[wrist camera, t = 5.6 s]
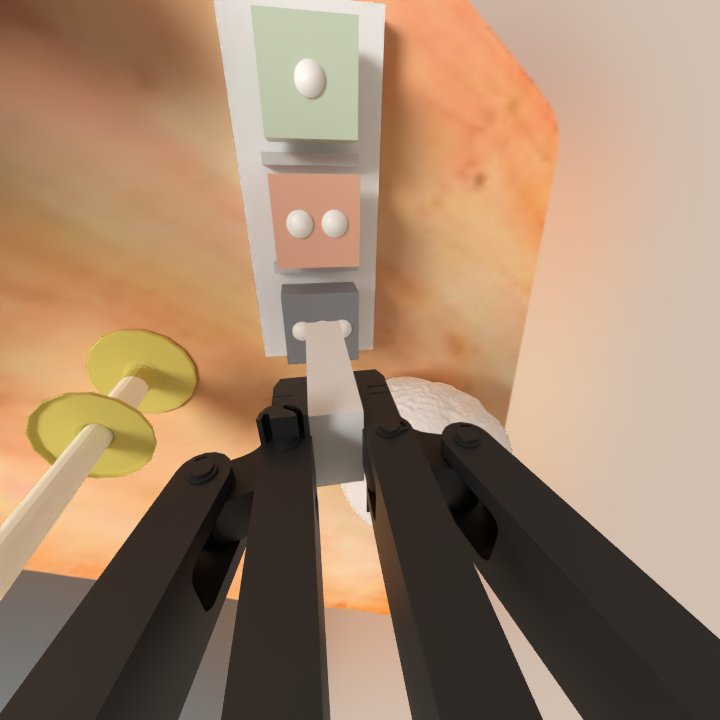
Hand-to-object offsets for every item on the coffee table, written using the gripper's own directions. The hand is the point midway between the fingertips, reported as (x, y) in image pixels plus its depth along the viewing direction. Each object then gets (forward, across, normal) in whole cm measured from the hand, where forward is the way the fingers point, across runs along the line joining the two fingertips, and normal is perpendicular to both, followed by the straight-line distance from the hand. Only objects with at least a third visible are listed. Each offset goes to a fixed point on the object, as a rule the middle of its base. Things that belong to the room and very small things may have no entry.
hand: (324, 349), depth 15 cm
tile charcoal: (+14, 0, -4) cm, 15 cm away
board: (+19, 0, +4) cm, 19 cm away
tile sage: (+15, +1, +12) cm, 20 cm away
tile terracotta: (+14, 0, +4) cm, 15 cm away
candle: (+19, -18, -10) cm, 28 cm away
